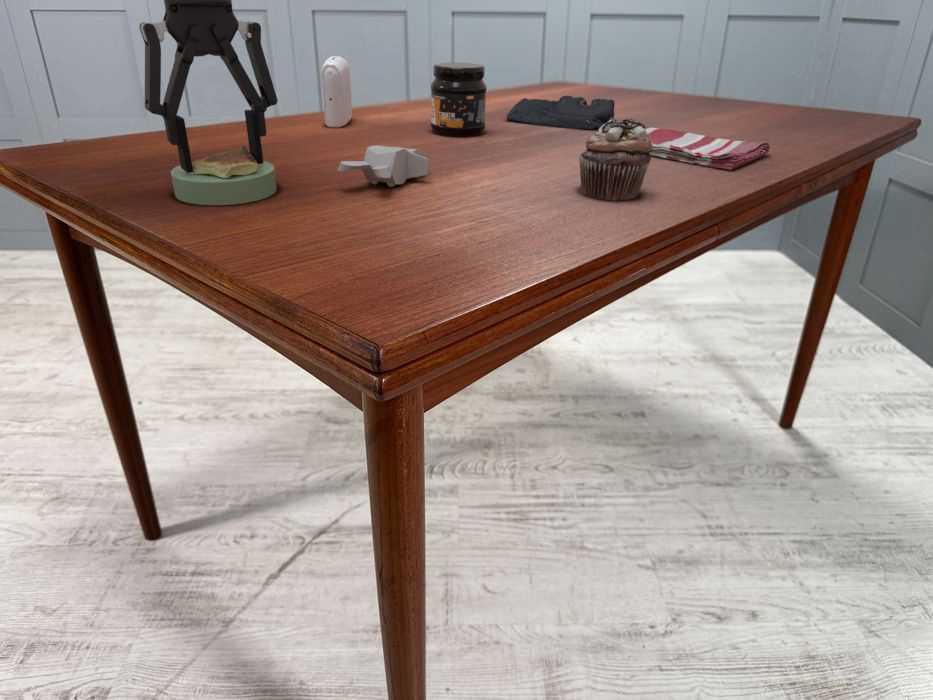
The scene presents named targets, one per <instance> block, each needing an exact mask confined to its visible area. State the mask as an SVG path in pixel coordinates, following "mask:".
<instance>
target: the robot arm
mask: <svg viewBox="0 0 933 700" xmlns="http://www.w3.org/2000/svg"><path fill="white" fill-rule="evenodd" d="M163 3H164V10H165V12H164V16H163V19H162V20H161V21H154V22H145V21H142V22H141V23H140V24H139V32H140V35H141V36H142V40H143V43H144V108H145V110H147V112H150V113H151V114H153V115H157V116H161V117H162V118H163V123H164V127H165V128H164V129H165V133H166V139H167V141H168V142H169V144H170V145H172V146H177V153H178V158H179V163H180V165H181V168H182V169H183V170H184V171H186V172H187V173H190V172H193V167H192V162H193V161H192V156H191V150H190V145H189V139H188V134H187V133H188V132H187V127H186V121H185V118H184V117H182V116H180V115H178V112H179V108H180V106H181V101H182V98H183V94H184V91H185V87H186V83H187V80H188V77H189V73H190V69H191V66H192V64H193V63H194V60H195V57H196V58H197V57H198V58H199V57H204V56H208V55H211V56H214V57H219V58H220V59H221V61H223V63H224V65H225V66H226V69H227V70H228V71H229V73H230V75H231V76H232V79H233V80H234V82H235V84H236V86H237V87H238V88H239V90H240V92H241V94H242V95H243V97H244V99H245V100H246V102H247V103H248V106H249V107H250V109H244V111H243V112H244V117H245V126H246V132H247V140H248V147H249V152H250V153H251V154H252V156H253V157H254V159H255V160H256V162H257V163H258V164H264V163H263V161H264V156H263V155H264V154H263V149H262V148H263V147H262V139H261V137H266V135H267V124H266V116H265V113H266V112H267V110H268V109H269V107H271V106H272V107H273V106H276V105H277V104H278V97H277V93H276V90H275V87H274V83H273V80H272V76H271V74H270V69H269V66H268V63H267V59H266V56H265V52H264V49H263V45H262V27H261V24H260V23H258V22H256V21H250V20H249V21H242V20H238V19H237V17H236V16H235V13H234V9H233V2H232V0H163ZM166 32H167V33H168V34H169V35H170V36H171V37H172V38H173V40H174V41H175V43H177V46H176V50H175V53H174V61H173V65H172V68H171V72H170V76H169V79H168V82H167V86H166V90H165V94H164V96H163V102H162V103H161V94H162V93H161V91H162V88H161V87H162V47H161V43H162V42H164V40H165V33H166ZM237 32H239V34H240V38H241V39H242V40H244V42H245V43H244V44H245V48H246V51H247V55H248V58H249V61H250V64H251V67H252V72H253V75H254V77H255V81H256V85H257V87H258V91H259V93H258V91H257V89H256V88H255V86H254V84H253V82H252V80H251V79H250V77H249V75H248V74H247V72H246V70H245V68H244V65H242V63H241V61H240V59H239V56H238V54H237V52H236V50H235V48H234V47H233V45H232V42H233V39H234V38H235V36H236V33H237Z"/></svg>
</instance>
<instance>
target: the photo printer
mask: <svg viewBox="0 0 933 700" xmlns="http://www.w3.org/2000/svg"><path fill="white" fill-rule="evenodd" d="M321 84H322V85H321V86H322V101H323V114H324V125H325V126H327V127H328V128H341V127H344V126H346V125H347V124H348V123H349V122H350V121H351V120H352V118H353V108H352V107H353V106H352V105H353V104H352V103H353V102H352V86H351V70H350V65H349V63H348V61H347V60H346V59H345V58H343V57H342V56H341V55H337V56H336V55H331V56H330V57H328V58H327V59H326V60H325V61H324V63H323V65H322V67H321Z"/></svg>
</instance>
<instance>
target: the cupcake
mask: <svg viewBox="0 0 933 700" xmlns="http://www.w3.org/2000/svg"><path fill="white" fill-rule="evenodd" d="M645 128H647V127H646V125H645V124H644V123H642V122H639V121H635V120H634V118H633V117H630V118H625V119H623V120H622V121H621V122H620V121H619V120H616V119H615V118H614V119H613V118H610V120H609V121H608V122H607V123H606V124H604V125H603V126H601V127H600V128H599V129H598V131H597V132H595V134H593V135H591V136H590V137H588V138H587V139H586V141H585V148H586V150H584V151H583V152H582V153H579V154H578V164H579V175H580V187H581V193H582V194H583V195H585V196H588V197H590V198H594V199H599V200H605V201H626V200H627V201H628V200H631V199H635V198H637V197H638V196H639V193H640V190H641V188H642V185H643V182H644V179H645V176H646V173H647V171H648V168H649V166H650V162H651V160H652V155H650V153H649V152H650V151H651V150H652V144H651V142H650V140H649V139H648V138H647V132H646V130H645Z"/></svg>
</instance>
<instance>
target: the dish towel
mask: <svg viewBox="0 0 933 700" xmlns="http://www.w3.org/2000/svg"><path fill="white" fill-rule="evenodd" d="M645 130H646V132H647V138H648V139H649V140H650V142H651V144H652V150H651V151H650V152H649V153H650V155H651V157H658V158H661V159H667V160H672V161H677V162H681V163H682V162H683V163H688V164H691V165H692V164H693V165H698V166H699V165H700V166H705V167H710V168H715V169H722V170H724V171H732V170H734V169H737V168H738V167H741V166H743V165H746V164H749V163H751V162H753V161H755V160H757V159H759V158H762V157H763V156H766V155H767V154H769V152H770V148H771V146H770V143H769V142H768V141H767V142H766V141H761V142H759V141H758V142H756V141H747V140H746V141H745V140H734V139H728V138H727V139H726V138H719V137H715V136H712V135H711V136H710V135H703V134H697V133H692V132H689V131H683V130H676V129H671V128H661V127H659V128H657V127H651V126H650V127H649V126H648V127H646V128H645ZM768 149H769V150H768ZM761 150H766V151H765V152H763V151H761ZM718 152H719V153H718ZM761 152H763V153H761ZM759 153H760V154H759ZM756 154H758V155H756ZM752 156H753V157H752ZM747 158H748V159H747ZM742 160H743V161H742Z"/></svg>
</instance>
